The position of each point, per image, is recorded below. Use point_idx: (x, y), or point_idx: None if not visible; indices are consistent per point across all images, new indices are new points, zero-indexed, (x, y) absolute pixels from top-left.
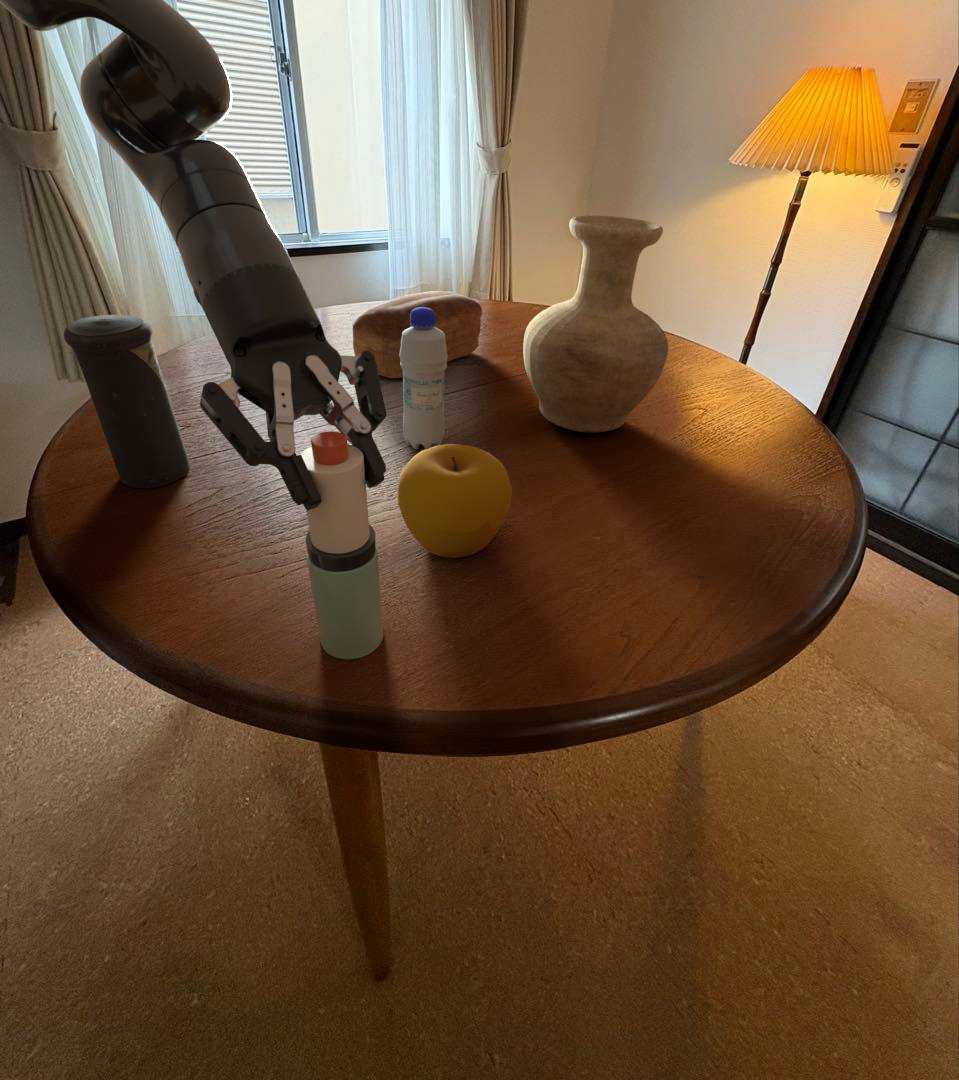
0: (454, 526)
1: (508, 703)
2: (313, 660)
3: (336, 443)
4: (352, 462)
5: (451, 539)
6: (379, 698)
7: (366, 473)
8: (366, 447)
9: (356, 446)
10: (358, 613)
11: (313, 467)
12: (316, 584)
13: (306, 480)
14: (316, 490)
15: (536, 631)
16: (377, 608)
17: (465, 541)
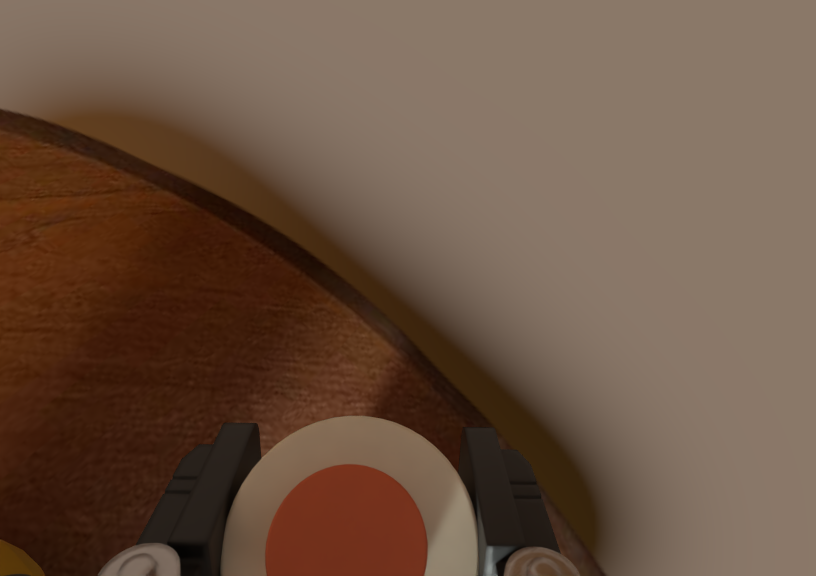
0: (13, 569)
1: (273, 262)
2: None
3: (343, 487)
4: (311, 452)
5: (41, 574)
6: (411, 385)
7: None
8: (207, 499)
9: (219, 561)
10: None
11: (448, 507)
12: None
13: (494, 471)
14: (471, 442)
15: (121, 330)
16: None
17: (21, 549)
